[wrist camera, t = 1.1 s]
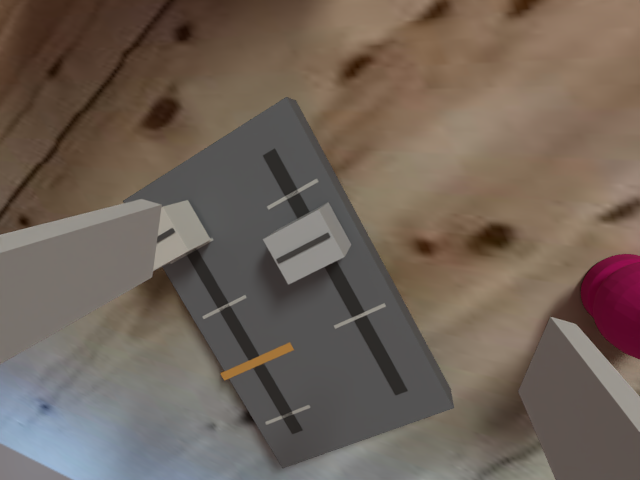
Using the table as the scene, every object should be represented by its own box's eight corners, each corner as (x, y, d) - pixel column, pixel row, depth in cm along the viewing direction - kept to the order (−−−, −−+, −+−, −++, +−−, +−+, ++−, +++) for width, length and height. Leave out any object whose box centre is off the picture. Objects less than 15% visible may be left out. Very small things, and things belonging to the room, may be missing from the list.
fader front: (277, 229, 37) (262, 239, 33) (328, 202, 35) (318, 209, 31) (300, 269, 37) (287, 285, 33) (351, 244, 36) (344, 257, 32)
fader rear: (145, 225, 39) (116, 234, 35) (187, 199, 38) (162, 206, 34) (168, 263, 40) (141, 277, 36) (210, 239, 38) (188, 251, 34)
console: (138, 199, 42) (118, 203, 40) (295, 100, 37) (286, 96, 34) (286, 449, 46) (278, 470, 43) (450, 389, 40) (453, 408, 37)
